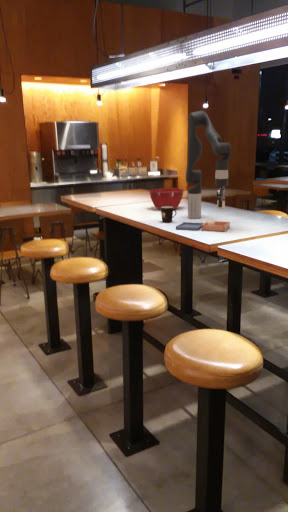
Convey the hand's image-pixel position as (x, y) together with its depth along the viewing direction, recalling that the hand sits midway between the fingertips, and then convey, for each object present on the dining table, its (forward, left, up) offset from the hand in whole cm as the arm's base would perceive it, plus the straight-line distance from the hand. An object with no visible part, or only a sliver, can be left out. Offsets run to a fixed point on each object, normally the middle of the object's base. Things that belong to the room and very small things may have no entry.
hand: (221, 206), depth 253 cm
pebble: (0, 0, -1) cm, 1 cm away
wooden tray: (0, -3, -14) cm, 14 cm away
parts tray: (0, -19, -14) cm, 24 cm away
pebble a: (0, -6, -13) cm, 14 cm away
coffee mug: (-14, -39, -14) cm, 44 cm away
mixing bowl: (-69, -60, -14) cm, 93 cm away
